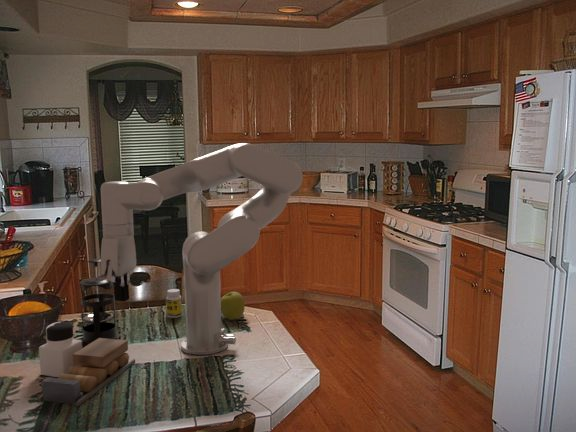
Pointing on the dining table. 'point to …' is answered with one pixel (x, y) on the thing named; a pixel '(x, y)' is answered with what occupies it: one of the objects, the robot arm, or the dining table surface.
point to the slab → (100, 352)
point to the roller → (82, 381)
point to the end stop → (61, 390)
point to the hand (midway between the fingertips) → (121, 299)
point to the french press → (98, 309)
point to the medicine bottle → (58, 349)
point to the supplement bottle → (173, 303)
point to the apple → (232, 305)
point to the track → (100, 374)
